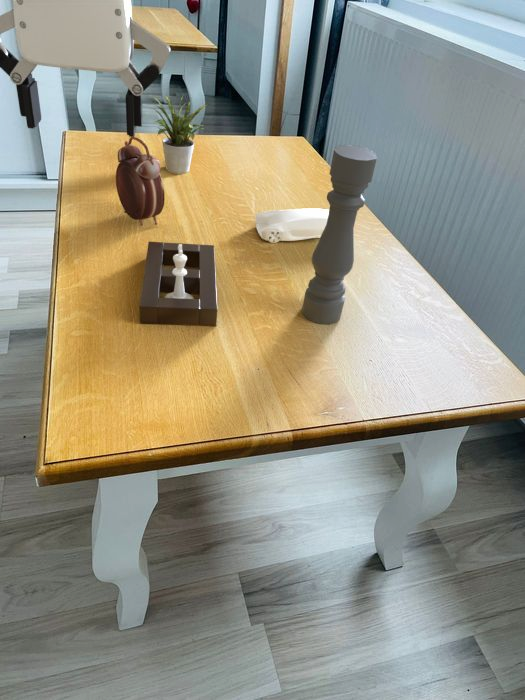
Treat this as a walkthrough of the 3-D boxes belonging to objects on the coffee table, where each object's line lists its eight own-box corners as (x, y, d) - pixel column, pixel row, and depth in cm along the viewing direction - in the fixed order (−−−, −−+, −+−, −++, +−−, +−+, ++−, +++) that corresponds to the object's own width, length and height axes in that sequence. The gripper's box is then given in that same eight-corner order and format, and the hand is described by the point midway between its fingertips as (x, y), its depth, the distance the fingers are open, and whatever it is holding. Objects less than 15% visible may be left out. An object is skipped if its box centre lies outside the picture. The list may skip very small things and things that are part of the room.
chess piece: (164, 314, 81) (165, 253, 75) (160, 296, 85) (160, 237, 79) (197, 312, 83) (200, 252, 77) (192, 294, 86) (194, 236, 80)
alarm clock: (166, 228, 103) (167, 147, 94) (143, 233, 100) (141, 150, 91) (136, 206, 109) (134, 127, 100) (114, 210, 106) (110, 130, 97)
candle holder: (301, 299, 89) (330, 141, 73) (339, 304, 89) (376, 147, 74) (302, 321, 84) (333, 157, 69) (342, 326, 84) (382, 163, 69)
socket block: (139, 323, 79) (139, 306, 77) (148, 257, 94) (148, 241, 92) (216, 326, 80) (217, 309, 79) (213, 260, 95) (214, 245, 94)
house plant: (128, 172, 122) (126, 93, 112) (156, 153, 133) (155, 80, 123) (188, 186, 120) (191, 106, 110) (211, 166, 131) (216, 92, 121)
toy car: (261, 243, 102) (263, 220, 100) (252, 224, 108) (255, 202, 106) (351, 243, 107) (356, 222, 104) (339, 225, 113) (343, 204, 110)
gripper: (172, -69, 50) (170, 125, 61) (-30, -97, 48) (4, 110, 58) (169, -66, 45) (168, 148, 55) (-61, -98, 42) (-17, 133, 53)
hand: (83, 128), depth 57 cm, fingers open, 9 cm apart
